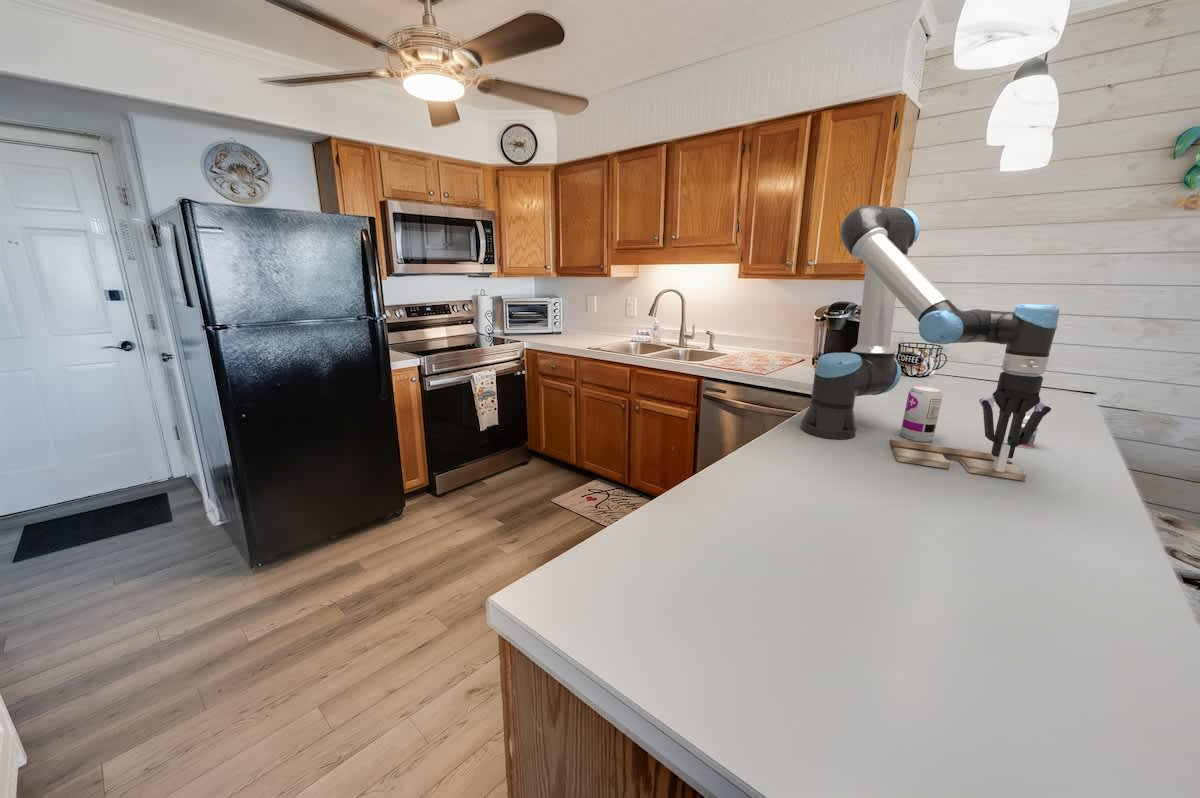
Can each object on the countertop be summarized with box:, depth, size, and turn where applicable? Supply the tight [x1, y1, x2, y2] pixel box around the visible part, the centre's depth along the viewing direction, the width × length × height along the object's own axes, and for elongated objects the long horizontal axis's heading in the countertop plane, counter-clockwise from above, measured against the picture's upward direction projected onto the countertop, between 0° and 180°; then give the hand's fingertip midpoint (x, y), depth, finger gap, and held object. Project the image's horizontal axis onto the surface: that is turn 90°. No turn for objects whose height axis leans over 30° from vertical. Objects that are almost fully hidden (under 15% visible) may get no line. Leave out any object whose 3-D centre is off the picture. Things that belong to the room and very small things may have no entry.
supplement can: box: [900, 385, 944, 443], centre depth 139 cm, size 8×8×15 cm
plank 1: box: [892, 447, 951, 470], centre depth 124 cm, size 11×8×2 cm
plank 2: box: [959, 457, 1027, 482], centre depth 118 cm, size 11×8×2 cm
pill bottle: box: [1017, 415, 1039, 449], centre depth 136 cm, size 5×5×8 cm
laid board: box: [889, 439, 1013, 465], centre depth 128 cm, size 26×6×2 cm, turn 66°
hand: (998, 469), depth 115 cm, fingers closed
